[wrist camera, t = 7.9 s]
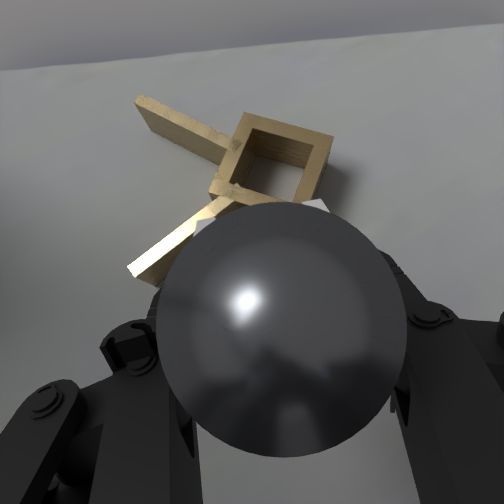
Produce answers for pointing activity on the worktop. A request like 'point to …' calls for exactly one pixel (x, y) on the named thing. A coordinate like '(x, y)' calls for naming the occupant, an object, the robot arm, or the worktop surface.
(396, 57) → the worktop surface
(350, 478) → the worktop surface
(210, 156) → the tan piece
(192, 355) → the hinge pin
